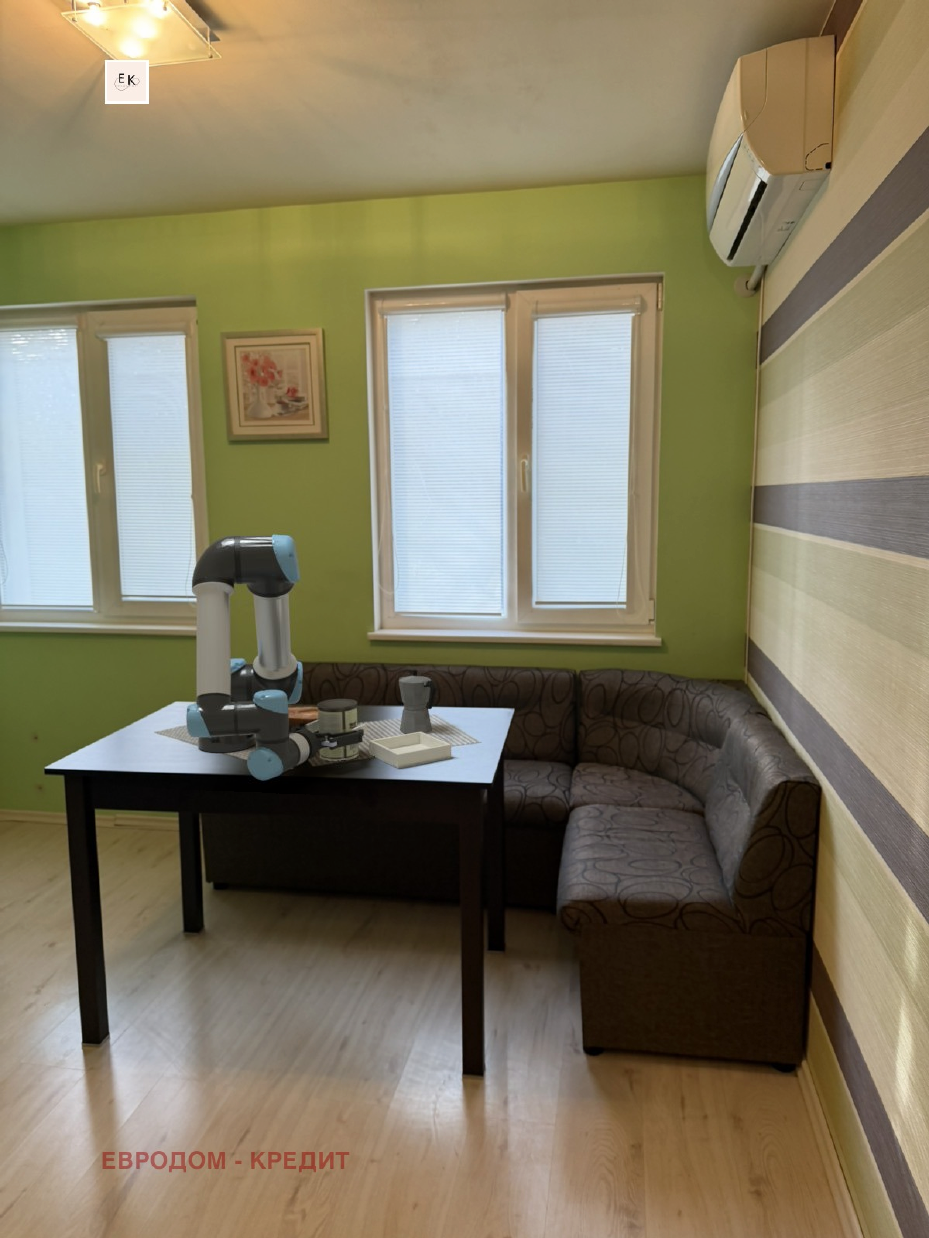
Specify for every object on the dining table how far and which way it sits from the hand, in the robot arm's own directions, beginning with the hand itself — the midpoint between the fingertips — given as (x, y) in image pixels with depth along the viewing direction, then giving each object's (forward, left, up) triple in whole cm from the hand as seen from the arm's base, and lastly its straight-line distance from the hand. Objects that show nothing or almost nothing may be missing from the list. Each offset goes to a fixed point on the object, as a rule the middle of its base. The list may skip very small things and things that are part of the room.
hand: (342, 726), depth 222 cm
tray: (+12, +13, -7) cm, 19 cm away
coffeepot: (-8, +27, -8) cm, 29 cm away
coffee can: (+1, -2, -8) cm, 8 cm away
